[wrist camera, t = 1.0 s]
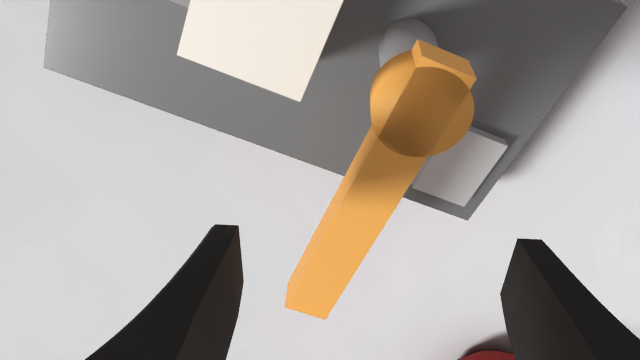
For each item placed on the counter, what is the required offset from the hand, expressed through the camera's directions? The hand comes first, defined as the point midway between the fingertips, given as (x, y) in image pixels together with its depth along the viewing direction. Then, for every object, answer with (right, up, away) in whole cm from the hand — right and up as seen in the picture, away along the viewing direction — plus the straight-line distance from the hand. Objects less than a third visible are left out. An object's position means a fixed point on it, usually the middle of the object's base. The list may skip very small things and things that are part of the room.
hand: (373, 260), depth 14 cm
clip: (0, +2, +4) cm, 4 cm away
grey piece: (-1, +8, +7) cm, 11 cm away
